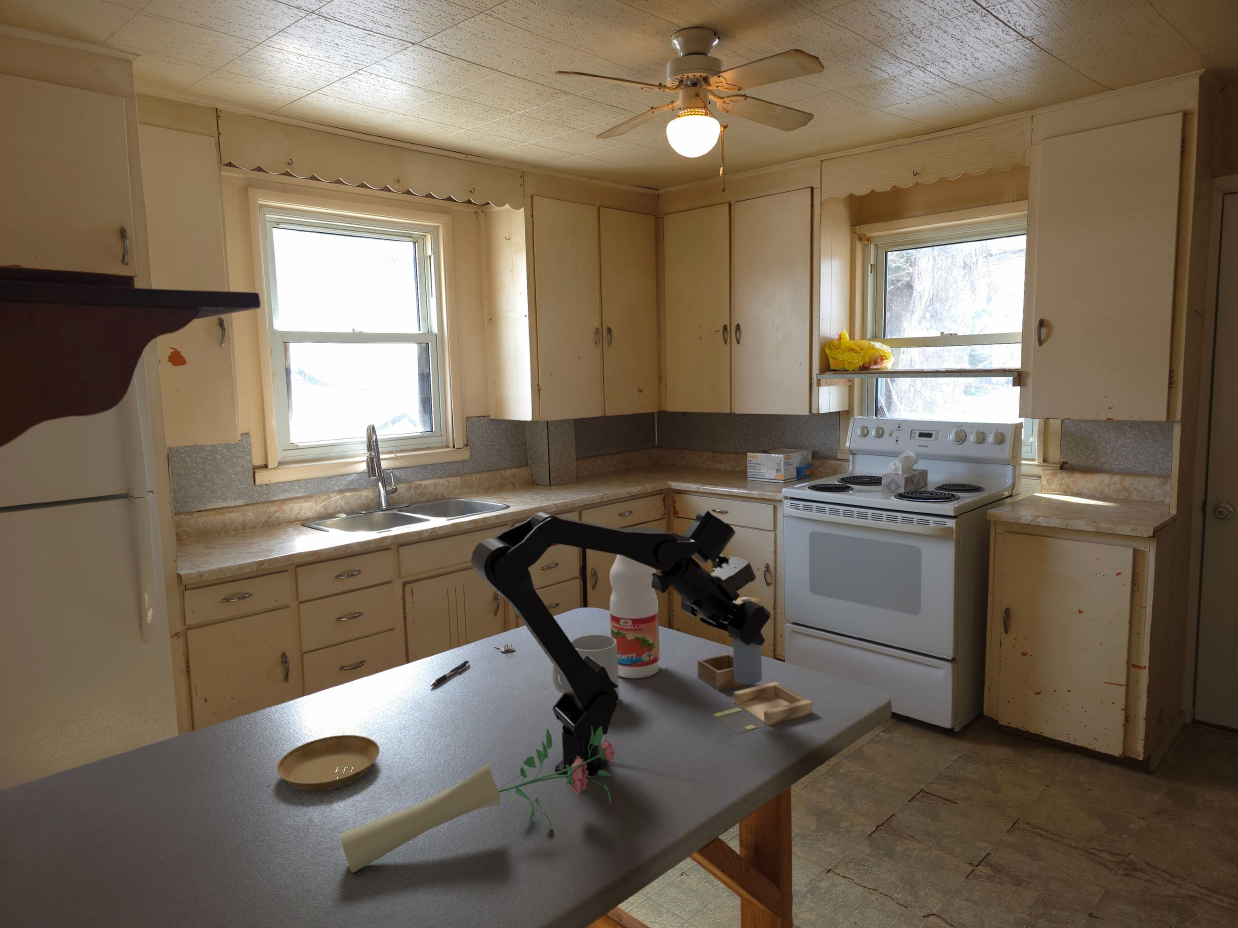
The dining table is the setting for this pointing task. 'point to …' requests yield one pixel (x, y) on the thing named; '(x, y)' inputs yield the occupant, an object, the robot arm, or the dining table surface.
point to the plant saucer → (328, 762)
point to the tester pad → (738, 720)
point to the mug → (595, 656)
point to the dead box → (718, 672)
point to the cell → (747, 656)
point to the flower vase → (457, 806)
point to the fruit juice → (634, 618)
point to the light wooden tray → (772, 703)
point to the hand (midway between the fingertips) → (754, 638)
